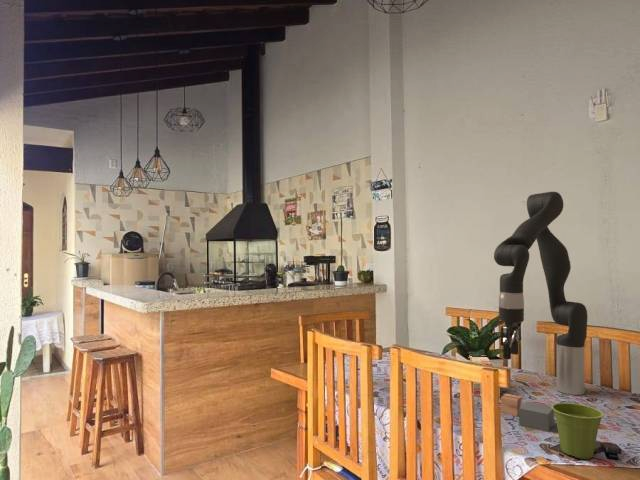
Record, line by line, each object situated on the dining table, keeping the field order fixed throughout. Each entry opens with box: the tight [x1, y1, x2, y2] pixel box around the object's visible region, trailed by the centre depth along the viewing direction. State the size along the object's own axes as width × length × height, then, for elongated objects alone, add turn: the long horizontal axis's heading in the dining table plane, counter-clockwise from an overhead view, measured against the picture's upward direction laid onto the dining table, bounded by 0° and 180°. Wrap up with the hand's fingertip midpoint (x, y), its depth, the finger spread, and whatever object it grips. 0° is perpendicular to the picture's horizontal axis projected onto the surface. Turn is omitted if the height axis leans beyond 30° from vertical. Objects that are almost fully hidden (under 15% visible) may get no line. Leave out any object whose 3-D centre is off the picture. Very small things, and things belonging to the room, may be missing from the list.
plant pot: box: [550, 402, 604, 460], centre depth 119 cm, size 12×12×11 cm
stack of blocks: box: [469, 355, 493, 398], centre depth 175 cm, size 21×6×12 cm, turn 169°
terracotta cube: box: [500, 393, 522, 417], centre depth 149 cm, size 5×5×5 cm
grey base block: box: [518, 401, 555, 432], centre depth 139 cm, size 8×8×5 cm
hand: (511, 356), depth 150 cm, fingers open, 8 cm apart
